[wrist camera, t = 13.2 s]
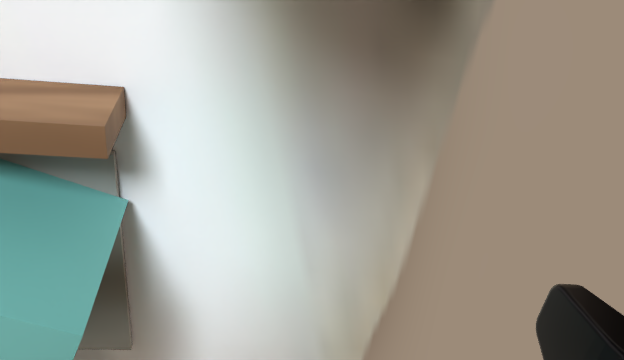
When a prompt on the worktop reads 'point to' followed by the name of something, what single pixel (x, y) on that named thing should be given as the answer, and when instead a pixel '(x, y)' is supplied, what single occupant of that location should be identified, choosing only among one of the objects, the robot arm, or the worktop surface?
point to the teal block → (50, 260)
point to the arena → (74, 171)
